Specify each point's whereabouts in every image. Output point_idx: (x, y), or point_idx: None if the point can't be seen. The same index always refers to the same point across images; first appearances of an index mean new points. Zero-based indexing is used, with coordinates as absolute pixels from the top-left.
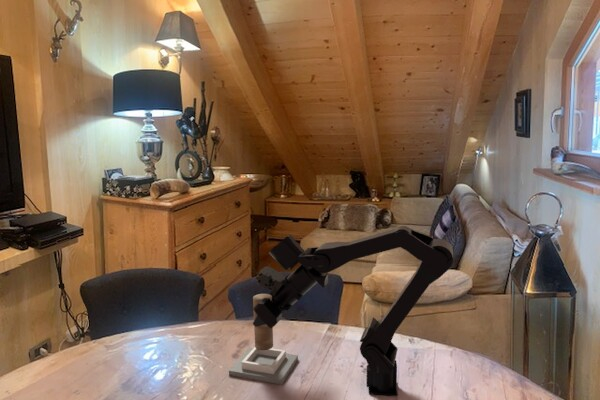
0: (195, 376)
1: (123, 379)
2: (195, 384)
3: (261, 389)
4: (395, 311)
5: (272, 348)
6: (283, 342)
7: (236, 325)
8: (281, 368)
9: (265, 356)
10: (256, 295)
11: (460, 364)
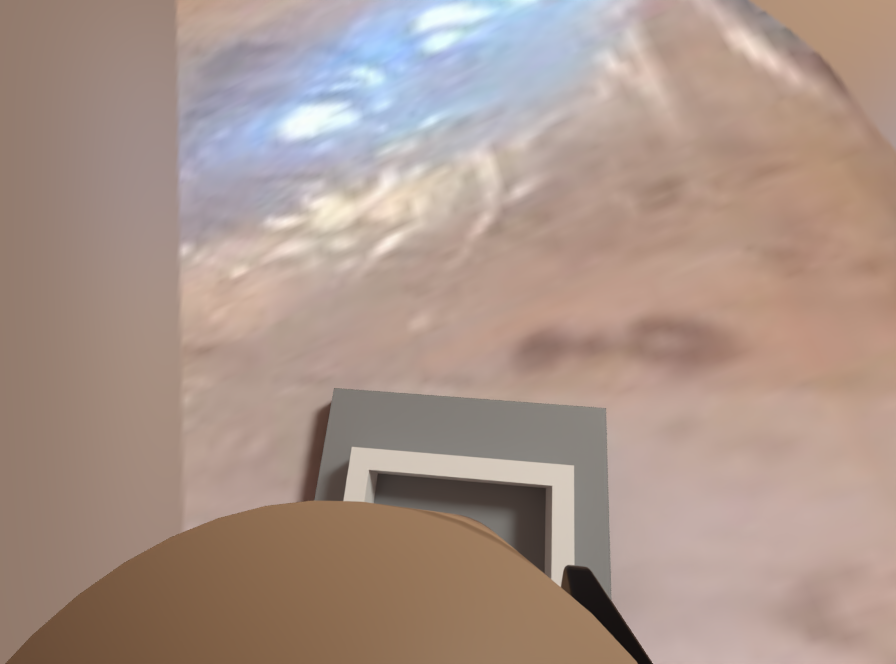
0: (317, 249)
1: (268, 32)
2: (255, 277)
3: None
4: None
5: None
6: (808, 603)
7: (869, 223)
8: None
9: (530, 555)
10: (451, 590)
11: None
